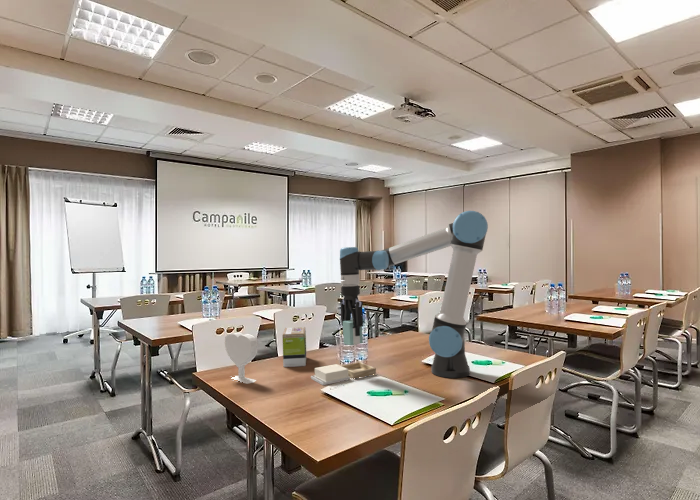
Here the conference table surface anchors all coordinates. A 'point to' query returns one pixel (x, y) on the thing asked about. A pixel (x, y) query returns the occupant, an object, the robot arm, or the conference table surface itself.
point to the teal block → (350, 332)
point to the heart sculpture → (241, 352)
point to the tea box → (294, 347)
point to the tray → (359, 370)
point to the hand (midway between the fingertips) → (352, 342)
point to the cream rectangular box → (330, 374)
